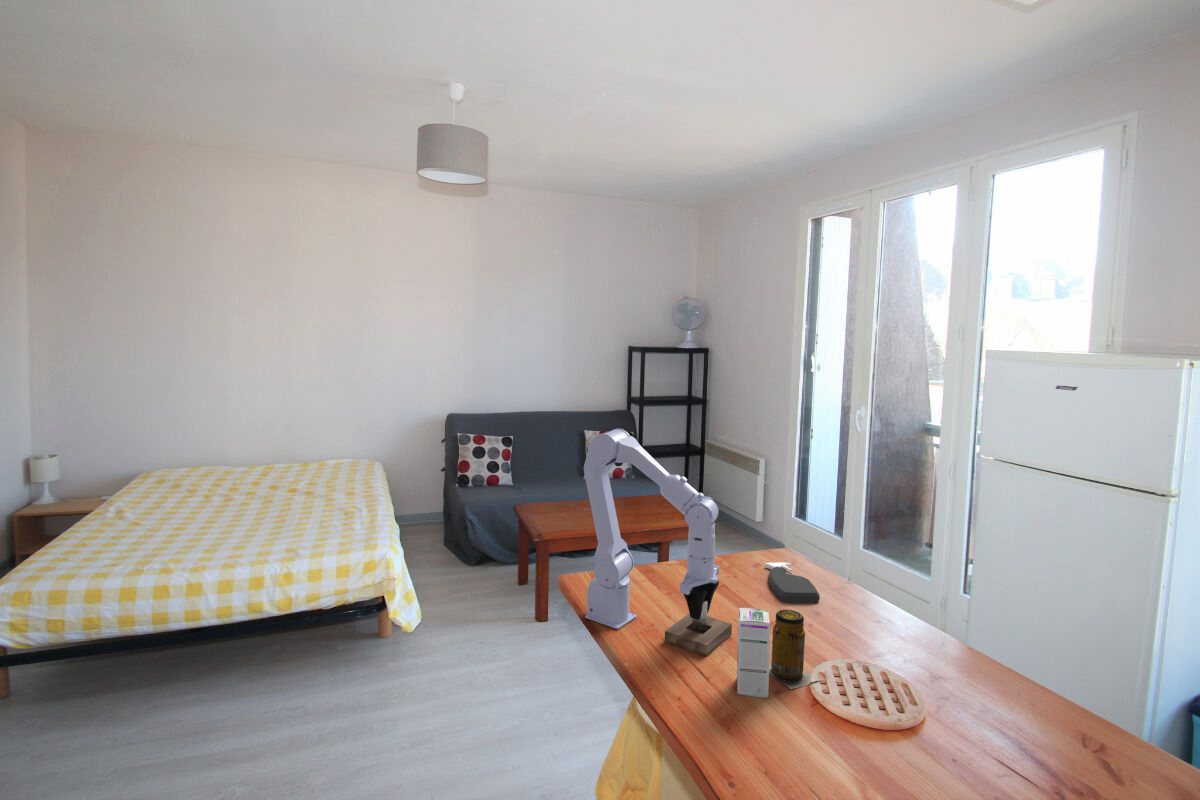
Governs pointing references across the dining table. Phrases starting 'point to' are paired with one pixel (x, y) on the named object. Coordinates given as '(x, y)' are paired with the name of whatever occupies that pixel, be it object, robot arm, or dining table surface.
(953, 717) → the dining table surface
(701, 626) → the pin
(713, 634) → the bore block
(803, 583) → the spray bottle
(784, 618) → the condiment
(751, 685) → the syrup box
